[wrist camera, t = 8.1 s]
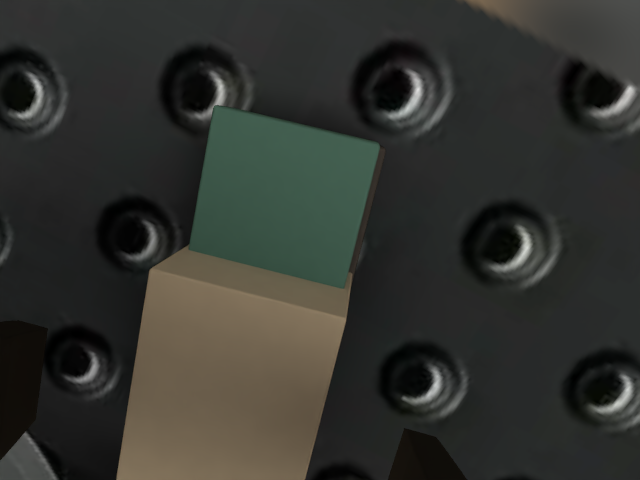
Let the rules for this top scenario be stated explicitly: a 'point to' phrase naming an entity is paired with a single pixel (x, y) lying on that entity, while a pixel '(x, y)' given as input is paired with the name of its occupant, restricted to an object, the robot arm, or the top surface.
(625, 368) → the top surface
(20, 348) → the robot arm
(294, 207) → the tan and green block
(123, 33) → the top surface
